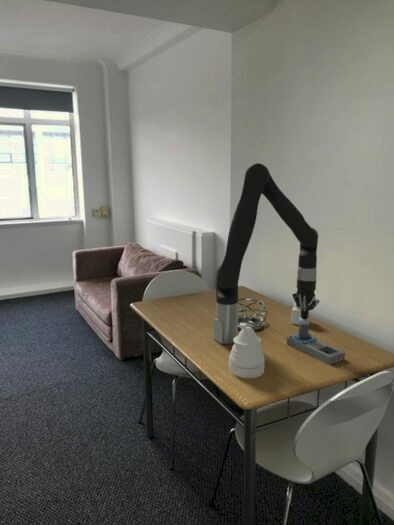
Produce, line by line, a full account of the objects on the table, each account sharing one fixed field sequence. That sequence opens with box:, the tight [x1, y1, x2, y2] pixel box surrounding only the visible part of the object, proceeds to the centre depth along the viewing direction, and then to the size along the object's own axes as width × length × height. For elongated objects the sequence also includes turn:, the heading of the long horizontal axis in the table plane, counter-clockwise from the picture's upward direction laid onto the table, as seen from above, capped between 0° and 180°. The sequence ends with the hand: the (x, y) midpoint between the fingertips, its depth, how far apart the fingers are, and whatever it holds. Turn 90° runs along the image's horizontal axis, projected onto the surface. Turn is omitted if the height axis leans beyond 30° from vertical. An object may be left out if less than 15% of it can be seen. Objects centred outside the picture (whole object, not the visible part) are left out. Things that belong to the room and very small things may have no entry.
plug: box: [297, 317, 310, 341], centre depth 175 cm, size 4×4×12 cm
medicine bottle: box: [290, 300, 310, 326], centre depth 201 cm, size 7×7×12 cm
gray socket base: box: [286, 331, 346, 365], centre depth 170 cm, size 23×9×5 cm, turn 32°
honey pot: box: [228, 322, 265, 379], centre depth 154 cm, size 13×13×18 cm
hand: (304, 318), depth 173 cm, fingers closed
